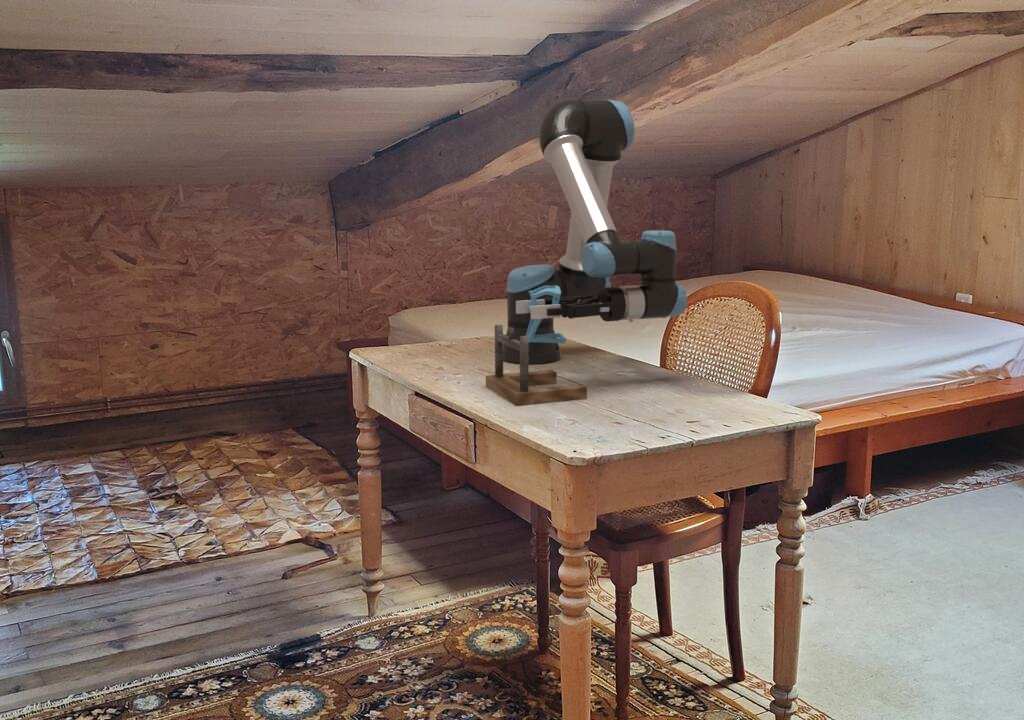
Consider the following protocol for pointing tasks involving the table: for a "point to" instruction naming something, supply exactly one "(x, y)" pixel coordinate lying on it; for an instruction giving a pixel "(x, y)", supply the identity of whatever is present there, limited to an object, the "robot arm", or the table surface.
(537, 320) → the chair
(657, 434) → the table surface
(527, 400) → the wooden post frame
